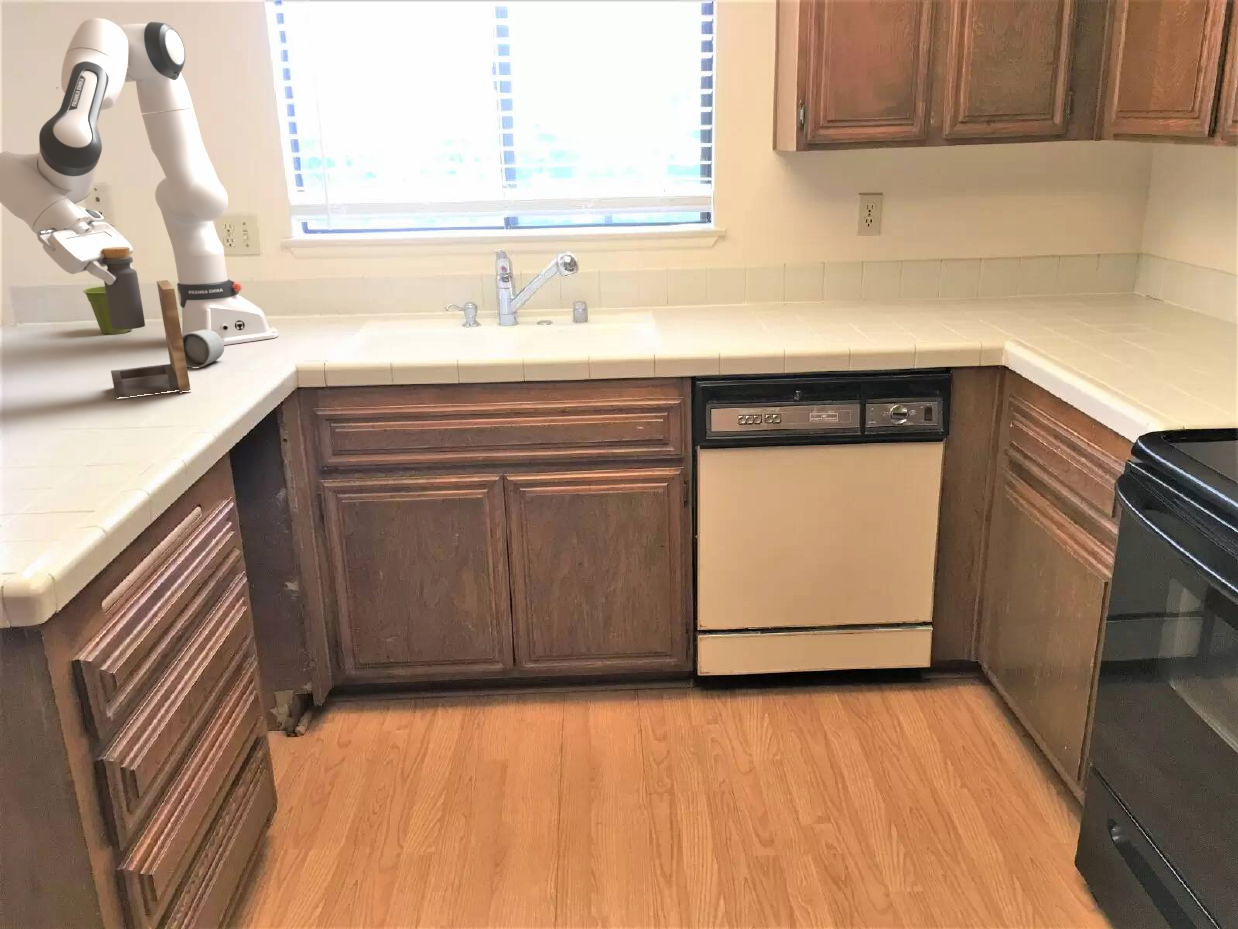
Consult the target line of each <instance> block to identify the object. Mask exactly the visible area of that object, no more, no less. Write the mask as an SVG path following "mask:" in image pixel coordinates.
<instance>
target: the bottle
mask: <svg viewBox="0 0 1238 929" xmlns="http://www.w3.org/2000/svg"><path fill="white" fill-rule="evenodd" d="M102 251H103V253H104V255H105V258H104V259H103V263H104V264H106V265H107V266H106V267H107V268H106V270H107V271H109V272H113V273H114V274H115V275H116V276H117V277H118V280H117V281H116V283H115V284H111V285H108V284H107V283H106V282H105V281H103V283H104V286H105V290H106V296H107V302H108V308H109V314H110V319H111V325H112V328H113V329H118V330H125V329H132V330H134V329H140V328H143V327H145V326H146V322H145V316H144V308H143V304H142V297H141V296H142V295H141V290H140V289H141V288H140V284H139V278H138V271H137V270H136V269H135V270H134V268H133V267H132V266H131V267H132V268H133V269H132V268H131V267H130V265H131V263H133V261H134V259H133V257H132V256H131V255H130V256H129V252H130V248H129V247H110V248H103V249H102ZM136 271H137V272H136Z"/></svg>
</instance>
